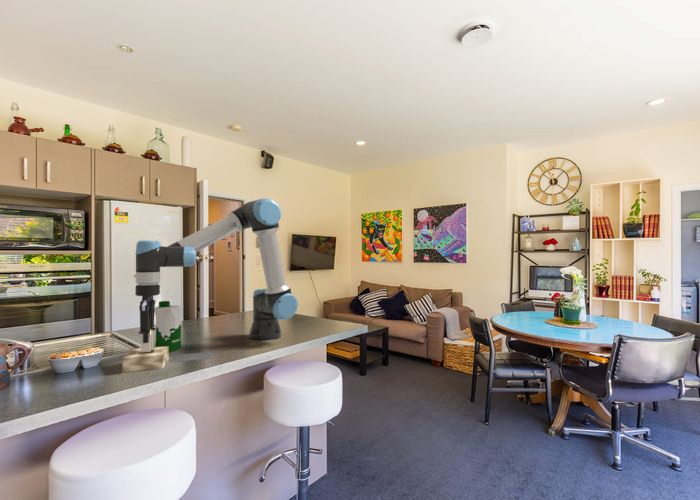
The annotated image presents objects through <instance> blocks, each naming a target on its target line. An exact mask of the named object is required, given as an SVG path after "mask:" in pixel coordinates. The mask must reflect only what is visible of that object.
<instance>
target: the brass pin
mask: <svg viewBox="0 0 700 500" xmlns="http://www.w3.org/2000/svg"><path fill="white" fill-rule="evenodd" d="M152 331H153V330H152V329H150V333H151V351H150V352H142V354H146V353H152Z"/></svg>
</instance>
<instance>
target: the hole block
mask: <svg viewBox="0 0 700 500" xmlns="http://www.w3.org/2000/svg"><path fill="white" fill-rule="evenodd" d="M169 353H170V352H169V346H165V347H155V346H154V347H153V349H152V353H146V354H142V347H141V348H140V347H138V348H131V349H130V350H129V351H128V352H127V353H126V354H125V355H124V356H123V357H122V370H121V371H122V373H127V372H141V371H152V370H160V369H161V370H162V369H164V367H165V366H166V364H167V362H168V360H170V358H169V356H170V355H169Z"/></svg>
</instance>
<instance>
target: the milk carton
mask: <svg viewBox="0 0 700 500" xmlns="http://www.w3.org/2000/svg"><path fill="white" fill-rule="evenodd" d="M183 309H184V306H183V305H173V304H171V301H170V300H162V301H159V302H158V306H156V307H155V311H154V317H155V344H154V347H165V346H169V353H172V352H175V351H178V350H180V349H182V348H183V347H182V313H183Z"/></svg>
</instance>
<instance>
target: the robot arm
mask: <svg viewBox="0 0 700 500" xmlns="http://www.w3.org/2000/svg"><path fill="white" fill-rule="evenodd" d="M281 218H282V210H281V208H280V206H279V204H278V203H277V202H276V201H275V200H273V199H271V198H259V199H256V200H251V201H248V202H246V203H244V204H243V205H241V206H238V208H236V209H234V210H233V211H230V212H229V213H228V215H227V216H226V217H224V218H222V219H219V220H217V221H216V222H213V223H211V224H209V225H207V226H206V227H204V228H201V229H199V230H198V231H195V232H193V233H190V235H188V236H185V237H183V238H182V239H180V240H178V241H176V242H174V243H171V244H169V245H167V246H162V245H161V242H160V241H159V240H138V241H137V242H136V247H135V248H136V249H135V274H134V275H133V277H134V278H135V284H136V285H135V291H134V293H135V296H137V297H142V298H141V300H140V302H139V307H138V308H139V332H138V335H139V334H140V335H141V348H142V352H150V351H151V333H150V329H152V349H153V346H154V345H153V343H154V342H153V341H154V339H153V338H154V337H153V336H154V334H153V333H154V332H153V331H156V327H155V308H156V307H155V306H156V300H155V299H154V296H158V295H160V294H161V285H160V284H159V283H160V282H161V268H164V267H165V268H167V267H168V268H176V267H177V268H182V267H184V268H186V267H193V266H194V265H195V264H196V260H197V253H198V252H199V251H201V250H203V249H206V248H207V247H209V246H211V245H214V243H217V242H218V241H220V240H223V239H224V238H226V237H228V236H230V235H232V234H234V233H236V232H242V231H244V230H247V229H250V228H251V231H252V233H254V235H256V239H257V243H258V247H259V253H260V258H261V262H262V263H261V264H262V268H263V274H264V279H265V283H266V288H259V289H257V288H256V289H255V290H254V291H253V294H252V295H253V296H252V299H253V300H252V301H253V303H252V305H253V307H252V311H253V312H252V318H253V319H252V320H253V321H252V323H251V327H250V329H249V332H248V336H249V338H250V339H252V340H257V341H268V340H269V341H270V340H274V339H278V338H281V337H282V328H281V326H280V321H279V320H282V321H283V320H284V321H286V320H289V319H290V318H292V317H293V316H294V315H295V313H296V312H297V310H298V305H299V303H298V299H297V297H296V296H295V295H294V294H292V289H291V286H290V285H289V284H287V282H286V281H287V280H286V277H285V272H284V271H285V270H284V265H283V261H282V254H281V249H280V244H279V238H278V232H277V231H278V230H279V229H280V226H279V221H280V220H281Z"/></svg>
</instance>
